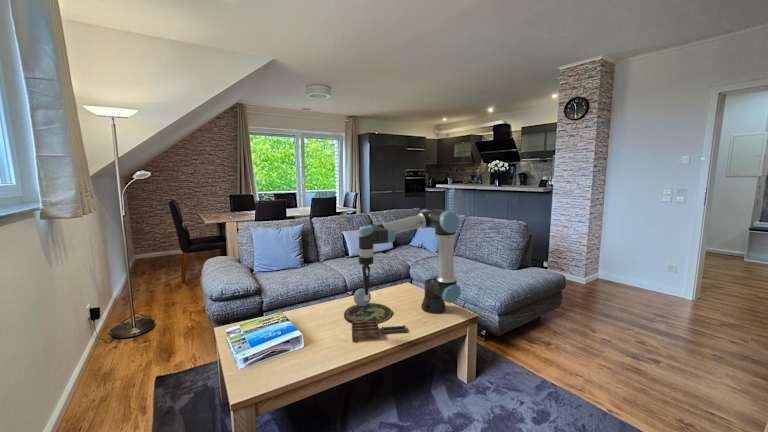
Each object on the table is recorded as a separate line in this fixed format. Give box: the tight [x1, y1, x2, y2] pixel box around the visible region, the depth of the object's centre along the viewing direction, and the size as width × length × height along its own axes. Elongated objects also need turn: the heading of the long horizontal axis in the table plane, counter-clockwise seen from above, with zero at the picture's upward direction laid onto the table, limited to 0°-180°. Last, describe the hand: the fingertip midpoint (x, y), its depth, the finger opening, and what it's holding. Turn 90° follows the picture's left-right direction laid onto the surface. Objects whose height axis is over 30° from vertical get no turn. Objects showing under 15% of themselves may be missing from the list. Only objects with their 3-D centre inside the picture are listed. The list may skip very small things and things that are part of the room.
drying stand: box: [381, 324, 408, 335], centre depth 177 cm, size 13×6×2 cm, turn 98°
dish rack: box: [351, 321, 380, 343], centre depth 173 cm, size 14×12×5 cm
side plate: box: [353, 287, 372, 306], centre depth 171 cm, size 9×2×9 cm, turn 97°
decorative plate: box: [343, 302, 394, 325], centre depth 199 cm, size 30×2×30 cm
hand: (366, 299), depth 171 cm, fingers closed on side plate, 1 cm apart
